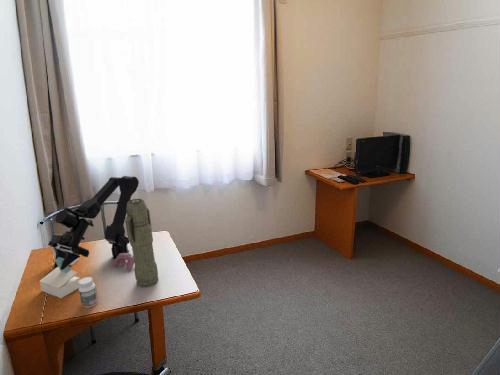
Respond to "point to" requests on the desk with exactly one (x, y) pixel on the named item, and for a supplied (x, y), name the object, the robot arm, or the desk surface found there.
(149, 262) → the olive tall rounded piece
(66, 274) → the flap
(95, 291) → the pill bottle
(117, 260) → the video game controller
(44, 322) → the desk surface
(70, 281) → the carton
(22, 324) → the desk surface
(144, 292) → the desk surface
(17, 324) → the desk surface
